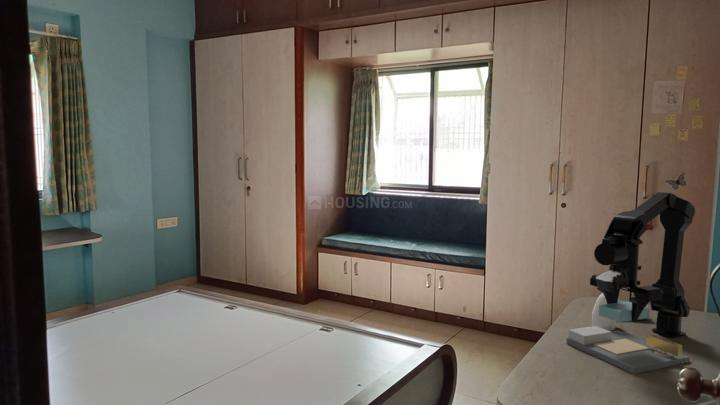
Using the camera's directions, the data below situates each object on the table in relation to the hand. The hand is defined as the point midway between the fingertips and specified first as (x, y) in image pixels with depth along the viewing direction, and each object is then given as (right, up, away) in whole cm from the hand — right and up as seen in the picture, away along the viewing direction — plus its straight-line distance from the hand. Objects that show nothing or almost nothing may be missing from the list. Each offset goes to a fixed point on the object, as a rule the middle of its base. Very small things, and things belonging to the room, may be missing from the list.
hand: (622, 317), depth 137 cm
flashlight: (+8, -9, +30) cm, 32 cm away
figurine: (+5, -8, +20) cm, 22 cm away
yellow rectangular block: (+9, -9, -4) cm, 13 cm away
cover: (0, 0, 0) cm, 0 cm away
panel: (+1, -10, +1) cm, 10 cm away
